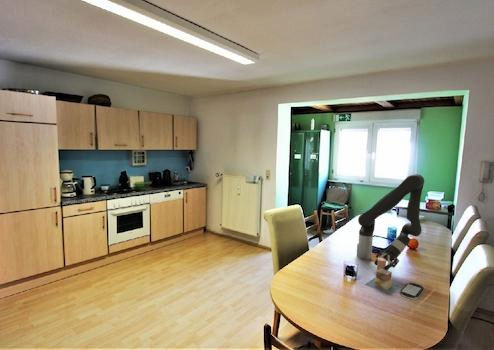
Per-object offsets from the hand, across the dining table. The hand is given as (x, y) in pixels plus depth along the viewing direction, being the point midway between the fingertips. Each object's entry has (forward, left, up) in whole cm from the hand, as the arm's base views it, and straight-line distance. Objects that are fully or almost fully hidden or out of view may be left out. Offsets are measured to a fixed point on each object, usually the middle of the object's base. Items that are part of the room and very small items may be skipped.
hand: (379, 267), depth 174 cm
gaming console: (+22, -8, -5) cm, 23 cm away
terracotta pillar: (0, +1, -5) cm, 5 cm away
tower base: (+8, -14, -4) cm, 17 cm away
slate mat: (+8, -14, -5) cm, 17 cm away
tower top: (+8, -14, 0) cm, 16 cm away
